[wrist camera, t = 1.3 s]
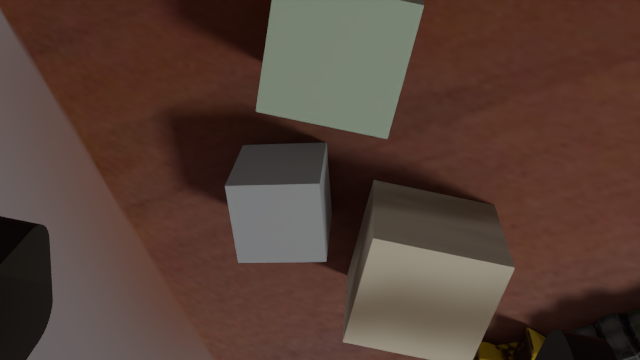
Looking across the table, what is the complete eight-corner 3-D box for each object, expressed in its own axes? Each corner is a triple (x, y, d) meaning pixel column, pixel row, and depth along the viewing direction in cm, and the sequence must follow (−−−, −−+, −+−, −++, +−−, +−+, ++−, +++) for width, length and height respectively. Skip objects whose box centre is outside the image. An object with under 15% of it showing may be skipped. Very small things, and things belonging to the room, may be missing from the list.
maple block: (373, 178, 29) (373, 238, 24) (493, 204, 29) (515, 267, 24) (347, 273, 32) (342, 342, 27) (456, 296, 32) (469, 367, 27)
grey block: (243, 144, 28) (224, 185, 25) (326, 141, 28) (319, 183, 24) (254, 214, 30) (238, 262, 27) (332, 213, 30) (326, 261, 26)
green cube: (294, -50, 24) (275, -27, 19) (415, -24, 24) (424, 5, 19) (275, 67, 26) (255, 111, 22) (385, 90, 26) (387, 139, 22)
